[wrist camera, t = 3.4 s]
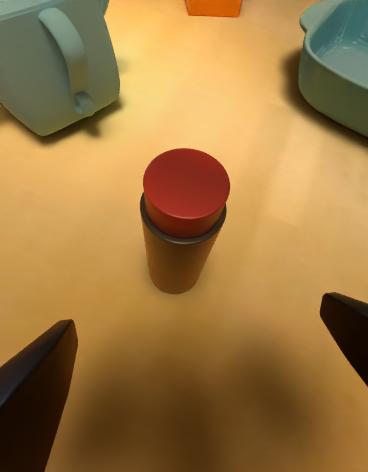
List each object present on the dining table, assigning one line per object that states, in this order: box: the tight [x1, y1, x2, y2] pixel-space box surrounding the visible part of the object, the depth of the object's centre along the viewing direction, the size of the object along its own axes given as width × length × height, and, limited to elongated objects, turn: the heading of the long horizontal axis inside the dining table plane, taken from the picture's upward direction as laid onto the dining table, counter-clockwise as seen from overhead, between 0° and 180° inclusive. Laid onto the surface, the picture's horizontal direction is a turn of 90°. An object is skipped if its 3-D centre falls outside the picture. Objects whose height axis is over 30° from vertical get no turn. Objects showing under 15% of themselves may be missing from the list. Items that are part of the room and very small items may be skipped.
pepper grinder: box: [140, 148, 230, 294], centre depth 17 cm, size 5×5×13 cm
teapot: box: [0, 0, 120, 136], centre depth 26 cm, size 18×16×14 cm
